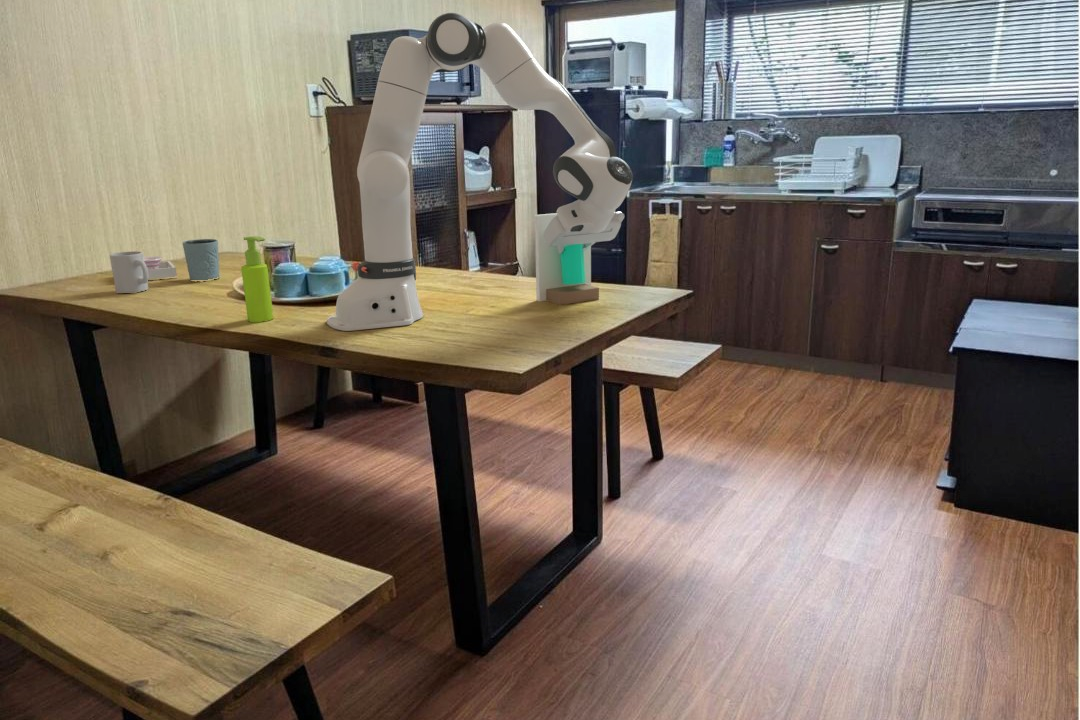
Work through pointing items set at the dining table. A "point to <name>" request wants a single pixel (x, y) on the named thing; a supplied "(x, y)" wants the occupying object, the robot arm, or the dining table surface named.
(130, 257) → the mug
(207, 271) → the blue embossed cup
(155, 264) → the teacup
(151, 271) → the tray
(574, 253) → the candle
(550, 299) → the tabletop board
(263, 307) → the soap dispenser
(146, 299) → the dining table surface
